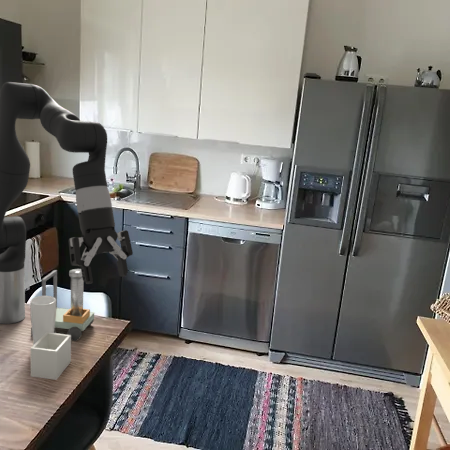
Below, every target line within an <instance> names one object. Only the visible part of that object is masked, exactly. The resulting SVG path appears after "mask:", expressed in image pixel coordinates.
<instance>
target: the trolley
mask: <svg viewBox="0 0 450 450" xmlns="http://www.w3.org/2000/svg"><path fill="white" fill-rule="evenodd" d="M51 278H53V280H52V281H53V283H52V284H53V288H52V289H53V290H52V291H53V293H52V294H53V295H52V297H54V298H55V299H56V320H55V330H54V333H57V329H58V328H59V329H67V331H66V332H67V333H66V335H71V342H76V341H78V340H79V339H80V338H81V337H82V335H83V334H82V332H84V330H86V329H87V327H89V326H91V325H92V324H93V322H94V321H95V312H94V311H91V310H90V309H88V308H83V315H82V316H73V315H71V307H69V308H61V307H60V308H59V307H58V270H57V269H54V270H52V271H51V272H50V273H48V274H47V275H46V276H44V277H43V278H42V279H41V296H47V283H46V282H47V281H49V279H51ZM56 328H57V329H56Z"/></svg>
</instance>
